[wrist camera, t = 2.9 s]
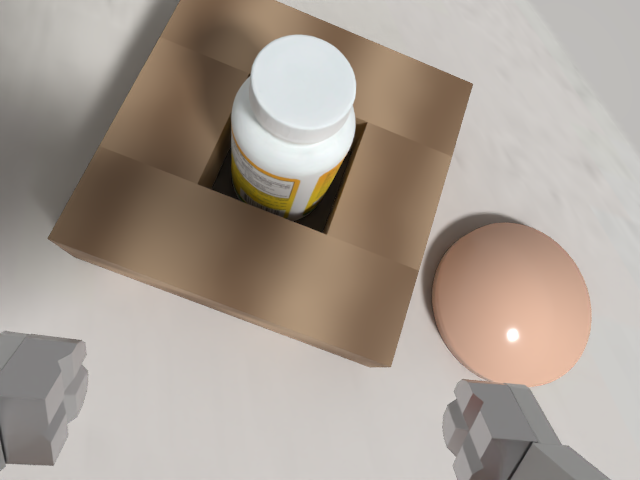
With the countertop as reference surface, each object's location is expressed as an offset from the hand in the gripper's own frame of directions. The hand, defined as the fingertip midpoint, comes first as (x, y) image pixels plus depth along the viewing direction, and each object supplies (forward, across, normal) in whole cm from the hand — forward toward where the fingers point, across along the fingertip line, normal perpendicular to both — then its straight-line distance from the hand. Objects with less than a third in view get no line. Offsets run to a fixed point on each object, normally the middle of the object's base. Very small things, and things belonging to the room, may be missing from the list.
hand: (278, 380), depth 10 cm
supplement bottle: (+18, 0, +3) cm, 18 cm away
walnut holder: (+17, 0, +2) cm, 18 cm away
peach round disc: (+14, -14, +6) cm, 20 cm away
